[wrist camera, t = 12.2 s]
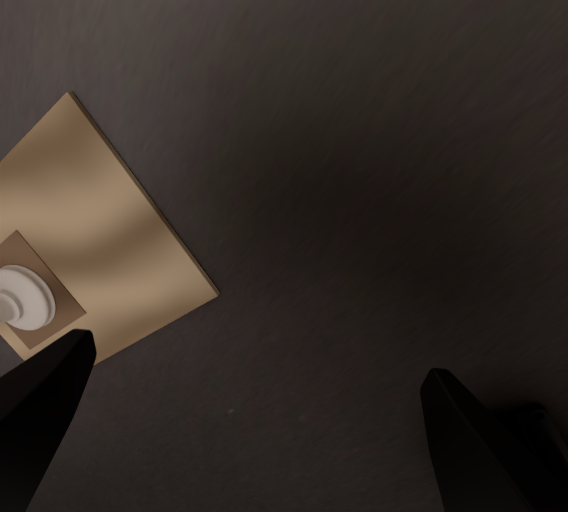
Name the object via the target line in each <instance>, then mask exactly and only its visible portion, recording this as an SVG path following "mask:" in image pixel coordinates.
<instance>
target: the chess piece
mask: <svg viewBox="0 0 568 512" xmlns="http://www.w3.org/2000/svg"><path fill="white" fill-rule="evenodd" d="M55 311H56V305H55V300H54V297H53V294H52V292H51V290H50V289H49V287H48V286H47V284H46V283H45V282H44V281H43V279H42V278H41V277H39V276H38V275H37V274H36V273H34V272H33V271H31V270H30V269H28V268H25V267H23V266H19V265H6V266H4V267H2V268H0V324H1V323H3V322H7V323H9V324H10V325H12V326H14V327H16V328H19V329H22V330H36V329H39V328H41V327H42V326H45V325H47V324H49V323H50V322H51V321H52V319H53V318H54V315H55Z"/></svg>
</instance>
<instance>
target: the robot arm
mask: <svg viewBox="0 0 568 512" xmlns="http://www.w3.org/2000/svg"><path fill="white" fill-rule="evenodd" d="M96 355H97V351H96V346H95V341H94V337H93V333H92V331H91V330H88V329H79V328H75V329H72V330H70V331H69V332H67V333H66V334H64V335H63V336H61V337H60V338H58V339H57V340H55V341H54V342H52V343H51V344H49V345H48V346H46V347H45V348H43V349H42V350H40V351H39V352H37V353H36V354H34V355H33V356H31V357H30V358H28V359H27V360H25V361H24V362H22V363H21V364H19V365H18V366H16V367H15V368H13V369H12V370H10V371H9V372H7V373H6V374H4V375H3V376H1V377H0V512H25V511H26V509H27V507H28V505H29V504H30V502H31V500H32V498H33V496H34V494H35V492H36V490H37V488H38V486H39V484H40V482H41V480H42V478H43V476H44V474H45V472H46V470H47V468H48V466H49V464H50V462H51V460H52V459H53V457H54V455H55V453H56V451H57V449H58V447H59V445H60V443H61V441H62V439H63V437H64V435H65V433H66V431H67V429H68V427H69V425H70V423H71V421H72V419H73V417H74V414H75V412H76V410H77V407H78V405H79V402H80V399H81V397H82V394H83V391H84V389H85V386H86V384H87V381H88V378H89V376H90V373H91V370H92V368H93V365H94V363H95V360H96ZM420 395H421V402H422V409H423V415H424V422H425V428H426V434H427V441H428V446H429V452H430V456H431V460H432V464H433V468H434V472H435V475H436V479H437V483H438V487H439V491H440V494H441V498H442V502H443V506H444V510H445V512H568V448H567V446H566V444H565V442H564V440H563V439H562V437H561V435H560V433H559V431H558V430H557V428H556V426H555V424H554V422H553V420H552V419H551V417H550V415H549V413H548V412H547V410H546V408H545V407H544V406H542V405H540V404H533V405H530V406H526V407H523V408H519V409H516V410H512V411H509V412H505V413H502V414H498V415H495V416H493V415H492V414H491V413H490V412H489V411H488V410H487V409H486V408H485V406H484V405H483V404H482V403H481V402H480V401H479V400H478V399H477V398H476V397H475V396H474V395H473V394H472V393H471V392H470V391H469V390H468V389H467V388H466V387H465V386H464V385H463V384H462V383H461V382H460V381H459V380H458V379H457V378H456V377H455V376H454V375H453V374H452V373H451V372H450V371H449V370H447V369H441V368H432V369H431V370H430V371H429V373H428V375H427V377H426V378H425V380H424V382H423V384H422V386H421V390H420ZM536 413H539V414H536Z"/></svg>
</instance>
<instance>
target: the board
mask: <svg viewBox="0 0 568 512" xmlns="http://www.w3.org/2000/svg"><path fill="white" fill-rule="evenodd" d="M6 265H19V266H23V267H25V268H28V269H30V270H31V271H33V272H34V273H36V274H37V275H38V276H39V277H41V278H42V279H43V281H44V282H45V283H46V284H47V286H48V287H49V289H50V290H51V292H52V294H53V297H54V300H55V305H56V311H55V315H54V318H53V319H52V321H51V322H50V323H49V324H47V325H45V326H42V327H41V328H39V329H36V330H22V329H19V328H16V327H14V326H12V325H10V324H9V323H7V322H3V323H1V324H0V335H1V336H2V337H3V338H4V339H5V340H6V341H7V342H8V343H9V344H10V346H11V347H12V348H13V349H14V350H15V351H16V352H17V353H18V354H19V355H20V356H21V358H22V359H23V360H24V361H25V360H27V359H28V358H30V357H31V356H33V355H34V354H36V353H37V352H39V351H40V350H42V349H43V348H45V347H46V346H48V345H49V344H51V343H52V342H54V341H55V340H57V339H58V338H60V337H61V336H63V335H64V334H66V333H67V332H69V331H70V330H72V329H75V328H79V329H88V330H91V331H92V333H93V337H94V341H95V346H96V351H97V355H96V360H95V363H94V365H95V364H97V363H99V362H101V361H102V360H104V359H106V358H108V357H109V356H111V355H113V354H115V353H117V352H118V351H120V350H122V349H124V348H126V347H127V346H129V345H131V344H133V343H135V342H136V341H138V340H140V339H142V338H144V337H145V336H147V335H149V334H151V333H153V332H154V331H156V330H158V329H160V328H161V327H163V326H165V325H167V324H169V323H170V322H172V321H174V320H176V319H178V318H179V317H181V316H183V315H185V314H187V313H188V312H190V311H192V310H194V309H196V308H197V307H199V306H201V305H203V304H205V303H206V302H208V301H210V300H212V299H213V298H215V297H217V296H218V295H219V294H220V292H219V291H218V289H217V288H216V287H215V285H214V284H213V282H212V281H211V280H210V278H209V277H208V276H207V274H206V273H205V272H204V270H203V269H202V267H201V266H200V265H199V263H198V262H197V261H196V259H195V258H194V257H193V255H192V254H191V253H190V251H189V250H188V248H187V247H186V246H185V244H184V243H183V242H182V240H181V239H180V238H179V236H178V235H177V233H176V232H175V231H174V229H173V228H172V227H171V225H170V224H169V223H168V221H167V220H166V219H165V217H164V216H163V214H162V213H161V212H160V210H159V209H158V208H157V206H156V205H155V204H154V202H153V201H152V199H151V198H150V197H149V195H148V194H147V193H146V191H145V190H144V189H143V187H142V186H141V185H140V183H139V182H138V180H137V179H136V178H135V176H134V175H133V174H132V172H131V171H130V170H129V168H128V167H127V165H126V164H125V163H124V161H123V160H122V159H121V157H120V156H119V155H118V153H117V152H116V151H115V149H114V148H113V146H112V145H111V144H110V142H109V141H108V140H107V138H106V137H105V136H104V134H103V133H102V131H101V130H100V129H99V127H98V126H97V125H96V123H95V122H94V121H93V119H92V118H91V117H90V115H89V114H88V112H87V111H86V110H85V108H84V107H83V106H82V104H81V103H80V102H79V100H78V99H77V97H76V96H75V95H74V93H73V92H67V93H66V94H65V95H64V96H63V97H62V98H61V99H60V100H59V101H58V102H57V103H56V104H55V105H54V106H53V107H52V108H51V109H50V110H49V111H48V113H47V114H46V115H45V116H44V117H43V118H42V119H41V120H40V121H39V122H38V123H37V124H36V125H35V126H34V127H33V128H32V129H31V130H30V131H29V132H28V134H27V135H26V136H25V137H24V138H23V139H22V140H21V141H20V142H19V143H18V144H17V145H16V146H15V147H14V148H13V149H12V150H11V151H10V152H9V153H8V154H7V156H6V157H5V158H4V159H3V160H2V161H1V162H0V268H2V267H4V266H6Z"/></svg>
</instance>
